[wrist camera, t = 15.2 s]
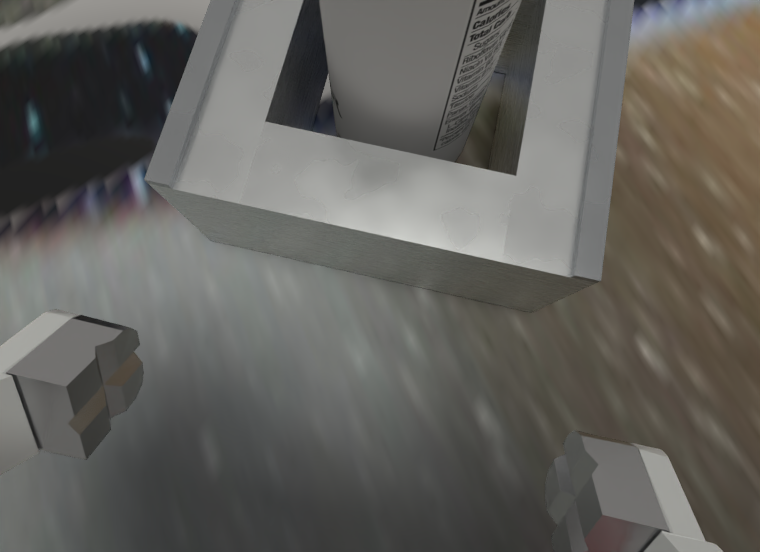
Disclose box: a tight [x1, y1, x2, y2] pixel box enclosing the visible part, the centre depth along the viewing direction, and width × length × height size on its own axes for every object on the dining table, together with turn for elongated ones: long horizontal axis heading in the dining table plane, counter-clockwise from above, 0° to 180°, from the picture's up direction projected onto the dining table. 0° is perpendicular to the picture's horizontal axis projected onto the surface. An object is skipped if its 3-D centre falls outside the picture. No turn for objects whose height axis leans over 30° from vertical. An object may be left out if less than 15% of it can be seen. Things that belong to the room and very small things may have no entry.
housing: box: [144, 0, 634, 313], centre depth 19 cm, size 14×14×6 cm
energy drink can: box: [319, 0, 522, 162], centre depth 15 cm, size 6×6×15 cm
